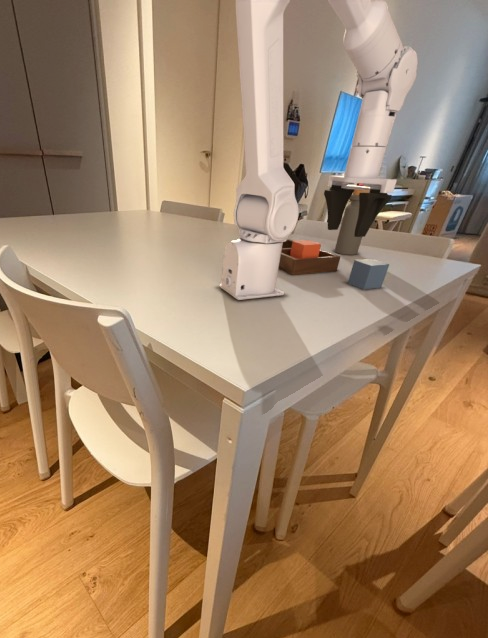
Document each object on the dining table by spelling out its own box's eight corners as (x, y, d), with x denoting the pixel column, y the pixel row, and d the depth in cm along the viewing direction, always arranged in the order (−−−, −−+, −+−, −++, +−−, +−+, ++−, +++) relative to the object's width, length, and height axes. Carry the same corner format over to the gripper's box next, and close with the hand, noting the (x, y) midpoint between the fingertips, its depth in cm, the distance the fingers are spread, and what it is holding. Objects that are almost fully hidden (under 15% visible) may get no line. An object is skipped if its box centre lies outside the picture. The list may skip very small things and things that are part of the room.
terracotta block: (299, 266, 74) (304, 245, 72) (288, 261, 78) (292, 241, 75) (316, 265, 76) (321, 244, 73) (304, 260, 79) (309, 240, 76)
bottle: (353, 250, 92) (372, 186, 84) (360, 255, 88) (380, 187, 79) (331, 249, 93) (348, 185, 84) (337, 254, 88) (355, 187, 79)
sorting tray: (336, 271, 75) (340, 256, 73) (292, 275, 71) (295, 259, 70) (287, 251, 90) (289, 239, 88) (249, 254, 86) (250, 241, 85)
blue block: (363, 289, 64) (371, 265, 62) (347, 283, 68) (354, 260, 65) (381, 287, 65) (389, 264, 63) (364, 281, 69) (371, 258, 66)
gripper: (421, 147, 54) (390, 238, 62) (356, 148, 65) (336, 226, 73) (388, 145, 52) (360, 240, 60) (326, 147, 63) (309, 227, 71)
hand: (345, 232), depth 66 cm, fingers open, 7 cm apart
